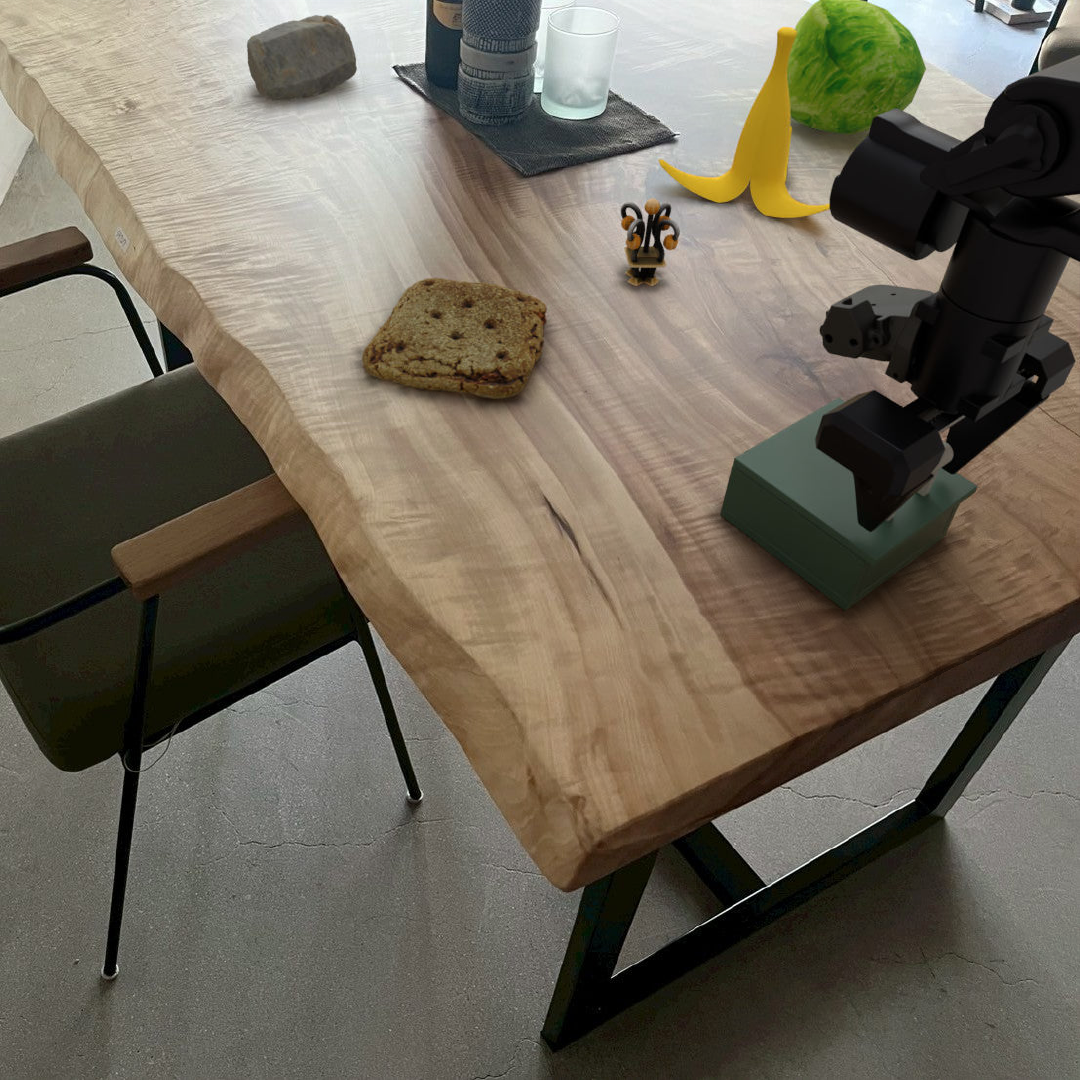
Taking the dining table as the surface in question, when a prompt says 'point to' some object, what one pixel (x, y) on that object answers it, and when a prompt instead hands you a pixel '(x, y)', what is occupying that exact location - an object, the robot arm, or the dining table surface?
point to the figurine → (647, 240)
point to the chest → (816, 542)
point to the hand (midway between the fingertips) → (908, 497)
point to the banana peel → (759, 149)
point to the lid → (844, 489)
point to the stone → (301, 58)
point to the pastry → (459, 339)
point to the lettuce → (851, 66)
